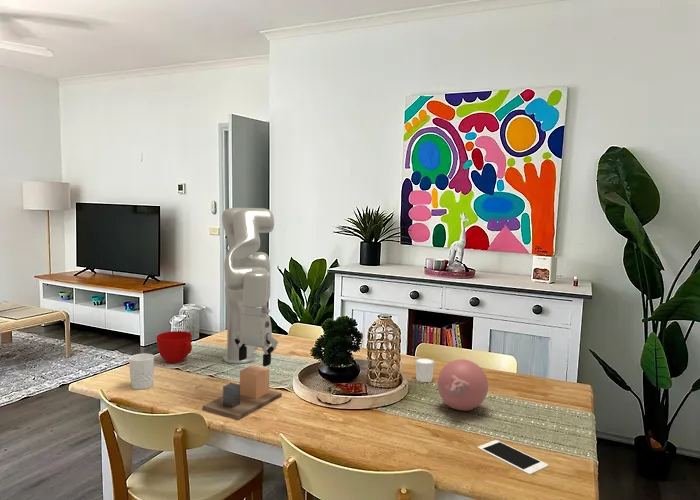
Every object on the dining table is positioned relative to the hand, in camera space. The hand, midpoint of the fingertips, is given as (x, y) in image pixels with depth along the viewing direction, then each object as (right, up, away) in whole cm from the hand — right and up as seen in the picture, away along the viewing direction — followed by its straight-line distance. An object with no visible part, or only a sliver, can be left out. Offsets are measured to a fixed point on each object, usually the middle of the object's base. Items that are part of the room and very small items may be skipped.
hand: (254, 362), depth 167 cm
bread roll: (+25, -12, +1) cm, 28 cm away
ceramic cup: (-36, -7, +34) cm, 50 cm away
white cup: (-39, -10, +8) cm, 41 cm away
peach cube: (0, -10, 0) cm, 10 cm away
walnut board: (-3, -12, -4) cm, 13 cm away
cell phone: (+72, -17, -35) cm, 81 cm away
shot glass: (+57, -11, +21) cm, 62 cm away
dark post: (-5, -12, -9) cm, 16 cm away
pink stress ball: (+64, -14, -7) cm, 66 cm away
